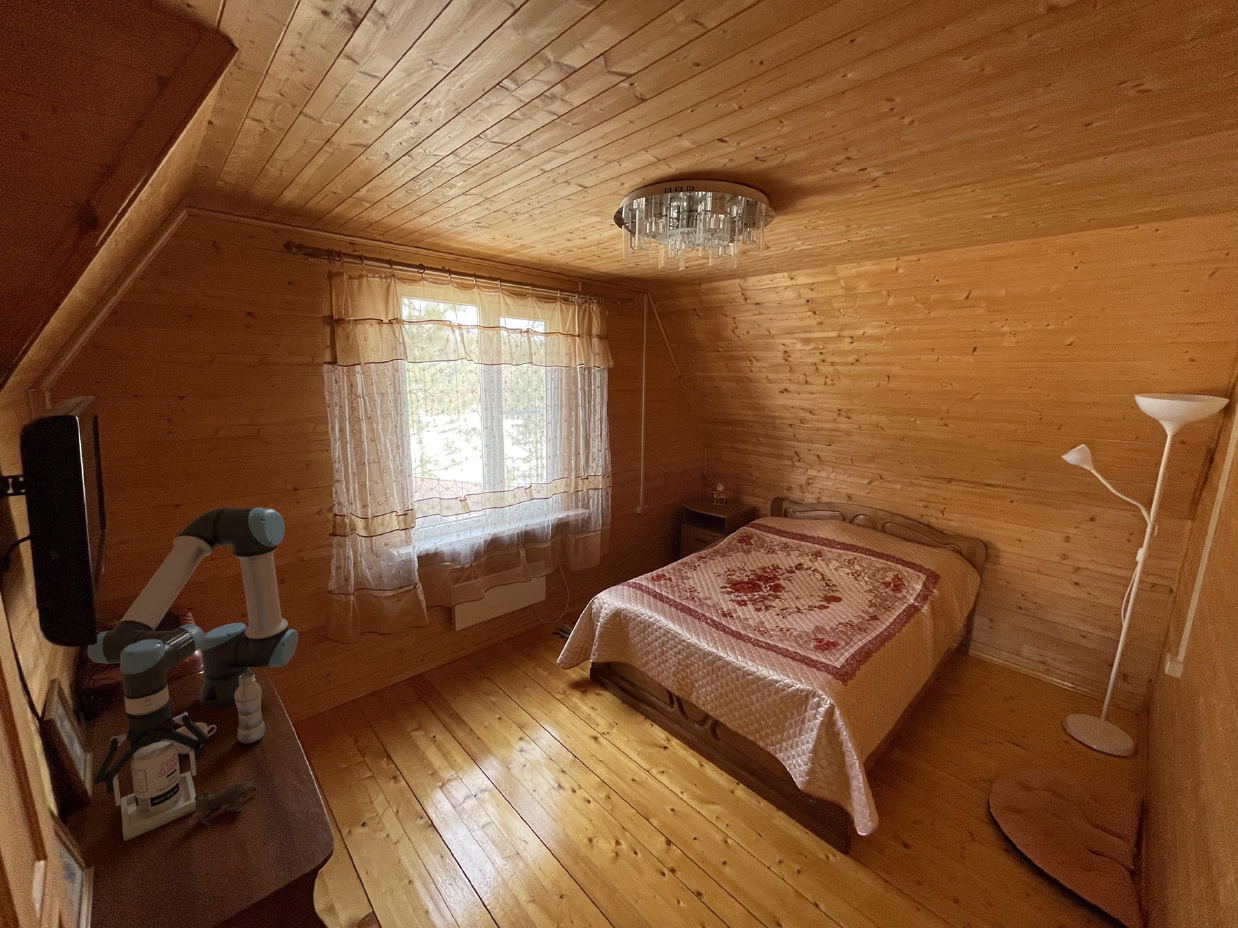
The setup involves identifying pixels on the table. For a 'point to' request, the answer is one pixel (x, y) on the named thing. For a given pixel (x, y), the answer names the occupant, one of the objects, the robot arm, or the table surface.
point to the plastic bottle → (249, 709)
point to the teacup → (184, 749)
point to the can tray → (140, 825)
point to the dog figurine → (222, 799)
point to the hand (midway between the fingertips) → (157, 786)
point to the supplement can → (156, 778)
